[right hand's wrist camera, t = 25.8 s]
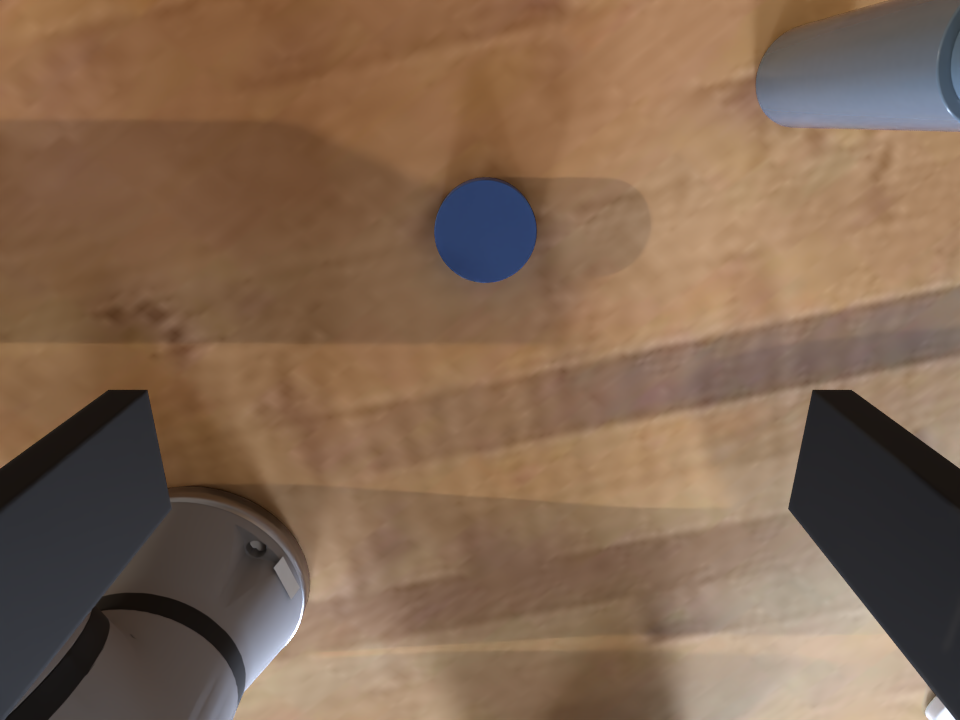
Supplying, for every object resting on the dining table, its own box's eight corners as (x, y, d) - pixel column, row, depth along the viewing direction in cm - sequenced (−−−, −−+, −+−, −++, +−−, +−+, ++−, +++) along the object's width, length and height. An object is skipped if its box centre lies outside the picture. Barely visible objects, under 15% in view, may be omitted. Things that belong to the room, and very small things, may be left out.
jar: (795, 4, 34) (1059, -92, 18) (871, 56, 34) (1184, 5, 19) (736, 98, 35) (933, 81, 20) (810, 144, 36) (1053, 163, 21)
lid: (446, 283, 39) (445, 290, 37) (427, 186, 37) (424, 189, 35) (540, 267, 39) (543, 273, 37) (526, 168, 37) (528, 171, 35)
